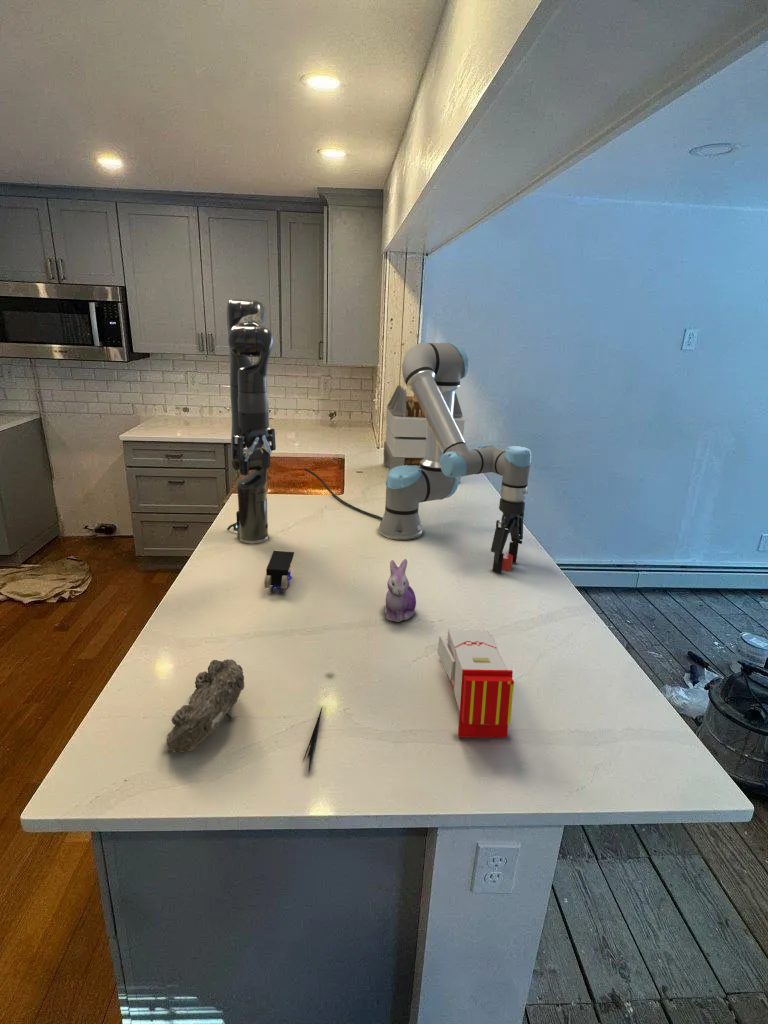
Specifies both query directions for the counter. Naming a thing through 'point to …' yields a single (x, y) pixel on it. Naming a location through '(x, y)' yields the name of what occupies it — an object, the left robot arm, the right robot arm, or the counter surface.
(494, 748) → the counter surface
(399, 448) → the white wooden crate
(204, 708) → the fossil
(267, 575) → the black rover
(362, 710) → the counter surface
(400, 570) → the figurine
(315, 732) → the feather
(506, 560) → the cylinder
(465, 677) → the toy
